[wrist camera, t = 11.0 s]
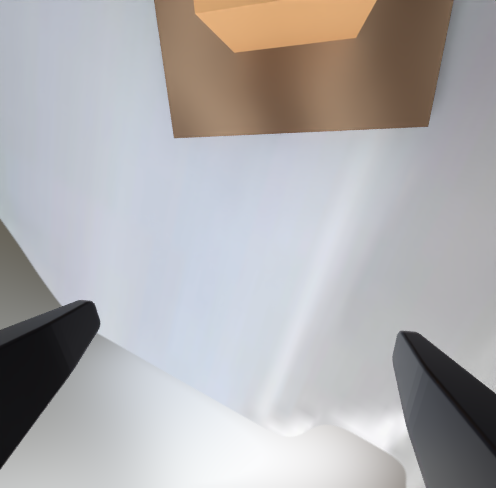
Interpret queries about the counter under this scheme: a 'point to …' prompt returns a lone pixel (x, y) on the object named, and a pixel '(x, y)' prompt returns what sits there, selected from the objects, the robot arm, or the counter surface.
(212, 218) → the counter surface
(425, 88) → the post board
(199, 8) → the peach wooden cube
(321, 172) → the counter surface
